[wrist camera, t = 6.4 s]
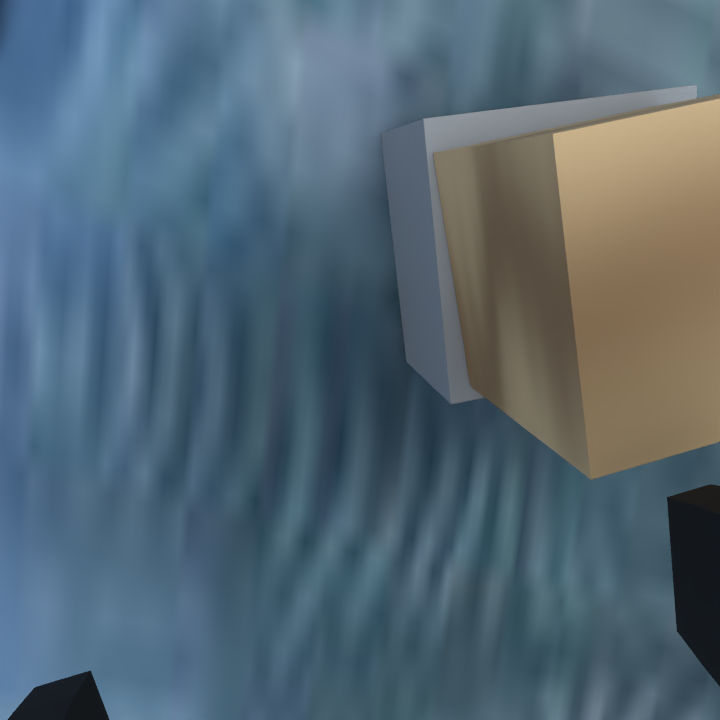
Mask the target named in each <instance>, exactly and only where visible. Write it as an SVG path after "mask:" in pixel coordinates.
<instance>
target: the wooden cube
mask: <svg viewBox="0 0 720 720" xmlns="http://www.w3.org/2000/svg"><path fill="white" fill-rule="evenodd" d="M433 156H434V163H435V169H436V175H437V181H438V187H439V194H440V200H441V206H442V212H443V219H444V225H445V231H446V237H447V243H448V250H449V256H450V262H451V268H452V275H453V281H454V287H455V293H456V299H457V306H458V312H459V318H460V324H461V331H462V337H463V343H464V349H465V355H466V362H467V368H468V374H469V380H470V386H471V387H472V388H473V389H475V390H476V391H477V392H478V393H480V394H481V395H482V396H484V397H485V398H486V399H487V400H489V401H490V402H491V403H493V404H494V405H495V406H496V407H498V408H499V409H500V410H502V411H503V412H504V413H506V414H507V415H508V416H509V417H511V418H512V419H513V420H515V421H516V422H517V423H518V424H520V425H521V426H522V427H524V428H525V429H526V430H527V431H529V432H530V433H531V434H533V435H534V436H535V437H537V438H538V439H539V440H540V441H542V442H543V443H544V444H546V445H547V446H548V447H549V448H551V449H552V450H553V451H555V452H556V453H557V454H558V455H560V456H561V457H562V458H564V459H565V460H566V461H568V462H569V463H570V464H571V465H573V466H574V467H575V468H577V469H578V470H579V471H580V472H582V473H583V474H584V475H586V476H587V477H588V478H589V479H591V480H592V479H595V478H599V477H602V476H606V475H609V474H612V473H616V472H619V471H622V470H626V469H629V468H633V467H636V466H639V465H643V464H646V463H649V462H653V461H656V460H660V459H663V458H666V457H670V456H673V455H676V454H680V453H683V452H687V451H690V450H693V449H697V448H700V447H703V446H707V445H710V444H714V443H717V442H720V94H718V95H713V96H707V97H702V98H697V99H691V100H686V101H680V102H675V103H669V104H664V105H659V106H654V107H649V108H644V109H640V110H635V111H630V112H625V113H621V114H616V115H611V116H606V117H602V118H597V119H592V120H587V121H583V122H578V123H573V124H568V125H564V126H559V127H554V128H549V129H545V130H540V131H535V132H530V133H526V134H521V135H516V136H511V137H507V138H502V139H497V140H492V141H488V142H483V143H478V144H473V145H469V146H464V147H459V148H454V149H450V150H445V151H440V152H435V153H433Z"/></svg>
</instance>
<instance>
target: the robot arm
mask: <svg viewBox="0 0 720 720" xmlns="http://www.w3.org/2000/svg"><path fill="white" fill-rule="evenodd" d="M667 502H668V515H669V529H670V542H671V556H672V570H673V583H674V597H675V610H676V624H677V632H678V633H679V634H680V636H681V637H682V638H683V640H684V641H685V642H686V644H687V645H688V646H689V648H690V649H691V650H692V651H693V653H694V654H695V655H696V657H697V658H698V659H699V661H700V662H701V663H702V665H703V666H704V667H705V669H706V670H707V671H708V672H709V674H710V675H711V676H712V677H713V679H714V680H715V681H716V682H717V684H718V685H719V686H720V486H716V485H706V486H703V487H700V488H696V489H693V490H690V491H687V492H683V493H680V494H677V495H673V496H670V497H667ZM8 720H109V718H108V715H107V712H106V710H105V707H104V704H103V702H102V699H101V697H100V694H99V691H98V689H97V686H96V683H95V681H94V678H93V675H92V673H91V671H88V672H84V673H81V674H78V675H74V676H71V677H68V678H64V679H61V680H58V681H54V682H51V683H48V684H44V685H41V686H38V687H35V688H34V689H33V690H32V691H31V693H30V694H29V695H28V696H27V697H26V698H25V699H24V701H23V702H22V703H21V704H20V705H19V706H18V708H17V709H16V710H15V711H14V712H13V714H12V715H11V716H10V717H9V719H8Z"/></svg>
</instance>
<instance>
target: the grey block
mask: <svg viewBox="0 0 720 720" xmlns="http://www.w3.org/2000/svg"><path fill="white" fill-rule="evenodd" d="M691 99H697V85H693V86H685V87H677V88H669V89H660V90H652V91H644V92H636V93H628V94H620V95H612V96H603V97H595V98H587V99H579V100H571V101H563V102H555V103H546V104H538V105H530V106H522V107H514V108H506V109H498V110H489V111H481V112H473V113H465V114H457V115H449V116H441V117H432V118H424V119H421V120H418V121H415V122H412V123H409V124H406V125H403V126H400V127H397V128H394V129H391V130H388V131H385V132H382V133H381V142H382V151H383V160H384V169H385V178H386V186H387V195H388V204H389V213H390V222H391V231H392V239H393V248H394V257H395V266H396V275H397V284H398V292H399V301H400V310H401V319H402V328H403V337H404V345H405V354H406V362H407V363H408V364H409V365H410V366H411V367H412V368H413V369H414V370H415V371H417V372H418V373H419V374H420V375H421V376H422V377H423V378H424V379H425V380H426V381H427V382H428V383H429V384H430V385H431V386H432V387H433V388H434V389H435V390H436V391H437V392H438V393H440V394H441V395H442V396H443V397H444V398H445V399H446V400H447V401H448V402H449V403H450V404H455V403H460V402H466V401H471V400H476V399H481V398H485V397H484V396H482V395H481V394H480V393H478V392H477V391H476V390H475V389H473V388H472V387H471V386H470V380H469V374H468V368H467V362H466V355H465V349H464V343H463V337H462V331H461V324H460V318H459V312H458V306H457V299H456V293H455V287H454V281H453V275H452V268H451V262H450V256H449V250H448V243H447V237H446V231H445V225H444V219H443V212H442V206H441V200H440V194H439V187H438V181H437V175H436V169H435V163H434V156H433V153H435V152H440V151H445V150H450V149H454V148H459V147H464V146H469V145H473V144H478V143H483V142H488V141H492V140H497V139H502V138H507V137H511V136H516V135H521V134H526V133H530V132H535V131H540V130H545V129H549V128H554V127H559V126H564V125H568V124H573V123H578V122H583V121H587V120H592V119H597V118H602V117H606V116H611V115H616V114H621V113H625V112H630V111H635V110H640V109H644V108H649V107H654V106H659V105H664V104H669V103H675V102H680V101H686V100H691Z"/></svg>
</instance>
